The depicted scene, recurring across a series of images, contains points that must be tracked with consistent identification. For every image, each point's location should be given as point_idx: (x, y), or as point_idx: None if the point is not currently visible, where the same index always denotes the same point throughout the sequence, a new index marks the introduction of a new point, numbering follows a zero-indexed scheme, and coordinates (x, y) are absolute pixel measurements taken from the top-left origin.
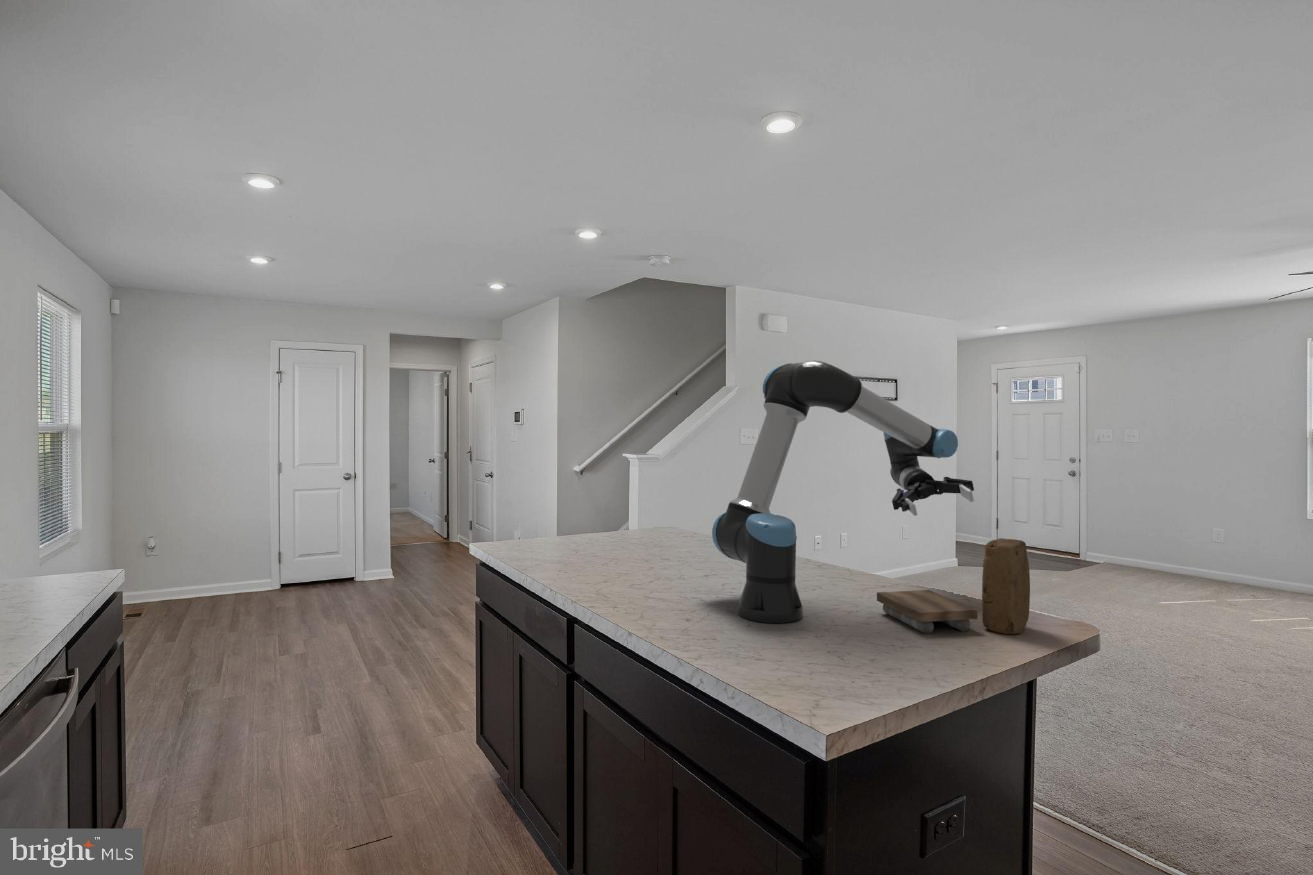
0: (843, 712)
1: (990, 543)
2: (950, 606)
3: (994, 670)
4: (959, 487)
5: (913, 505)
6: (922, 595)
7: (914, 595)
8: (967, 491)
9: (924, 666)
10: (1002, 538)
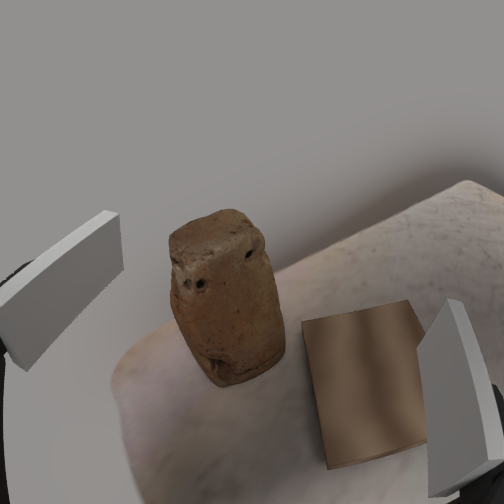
0: (465, 191)
1: (252, 227)
2: (342, 337)
3: (348, 240)
4: (3, 328)
5: (454, 301)
6: (368, 412)
7: (387, 410)
8: (108, 225)
9: (413, 243)
10: (189, 253)
